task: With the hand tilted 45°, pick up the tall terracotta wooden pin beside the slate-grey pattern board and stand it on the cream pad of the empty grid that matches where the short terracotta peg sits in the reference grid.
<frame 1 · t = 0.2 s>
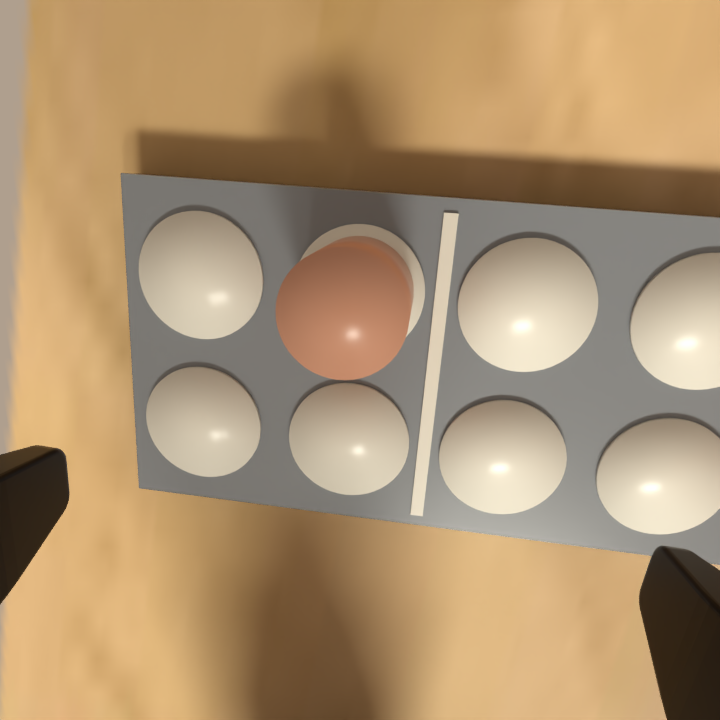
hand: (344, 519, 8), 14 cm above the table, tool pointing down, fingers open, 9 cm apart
pattern board: (432, 364, 23), on the table
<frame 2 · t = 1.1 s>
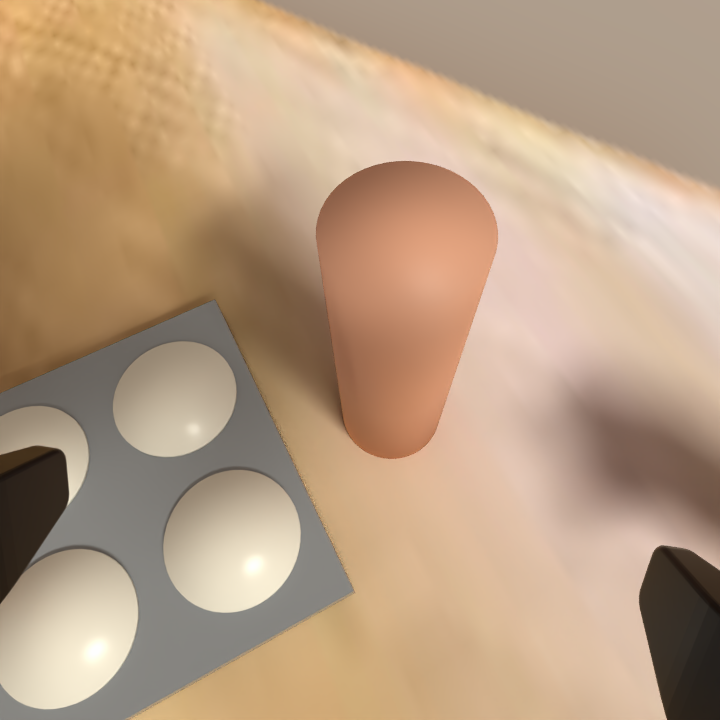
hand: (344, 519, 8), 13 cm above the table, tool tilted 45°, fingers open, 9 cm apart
terracotta pin: (390, 411, 23), on the table
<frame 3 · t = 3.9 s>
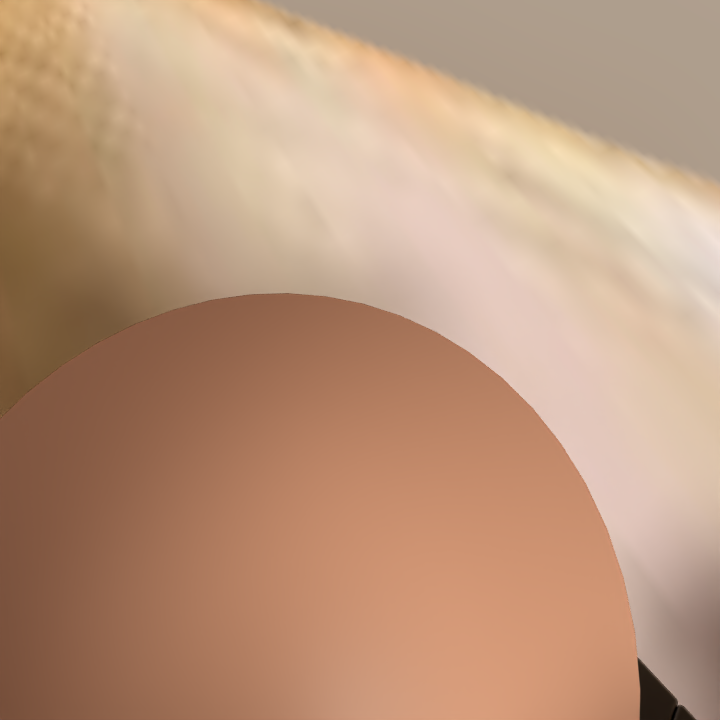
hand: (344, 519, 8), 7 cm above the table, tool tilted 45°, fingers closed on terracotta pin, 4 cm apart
terracotta pin: (347, 621, 14), on the table, touching gripper
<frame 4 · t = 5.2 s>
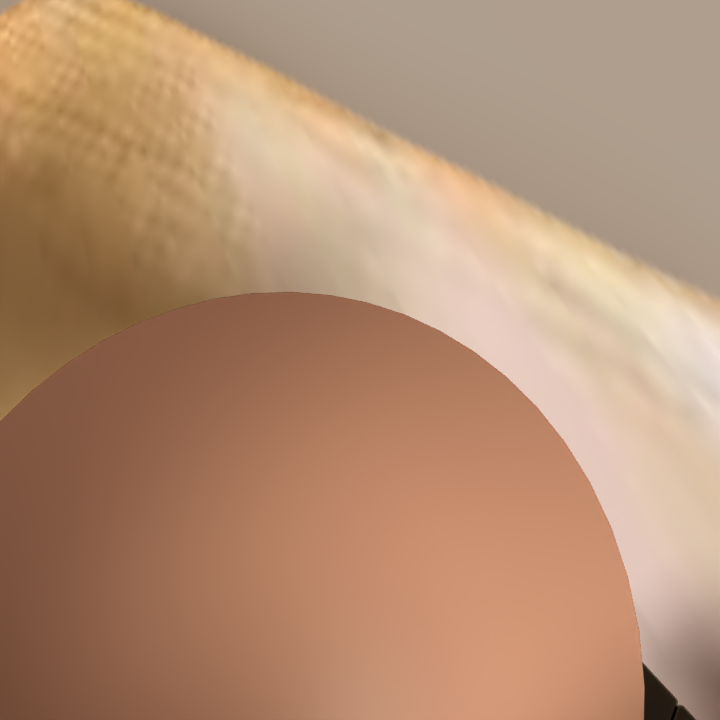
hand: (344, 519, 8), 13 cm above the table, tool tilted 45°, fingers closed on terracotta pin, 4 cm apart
terracotta pin: (348, 621, 14), point 6 cm above the table, touching gripper
when the fingers open (9 cm above the table, at t = 6.8 s): terracotta pin stays where it is, resting on pattern board.
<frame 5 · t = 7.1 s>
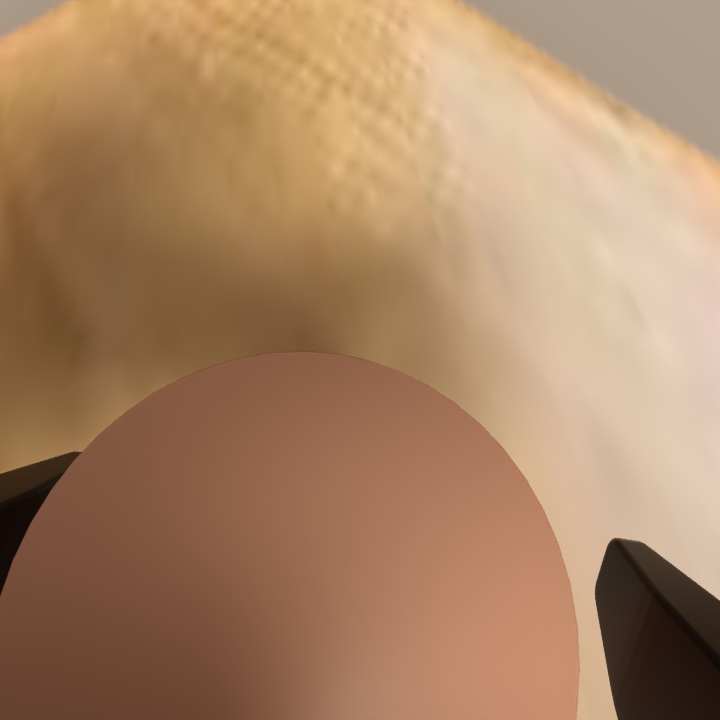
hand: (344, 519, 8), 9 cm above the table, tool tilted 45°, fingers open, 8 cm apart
terracotta pin: (347, 622, 15), point 2 cm above the table, touching pattern board
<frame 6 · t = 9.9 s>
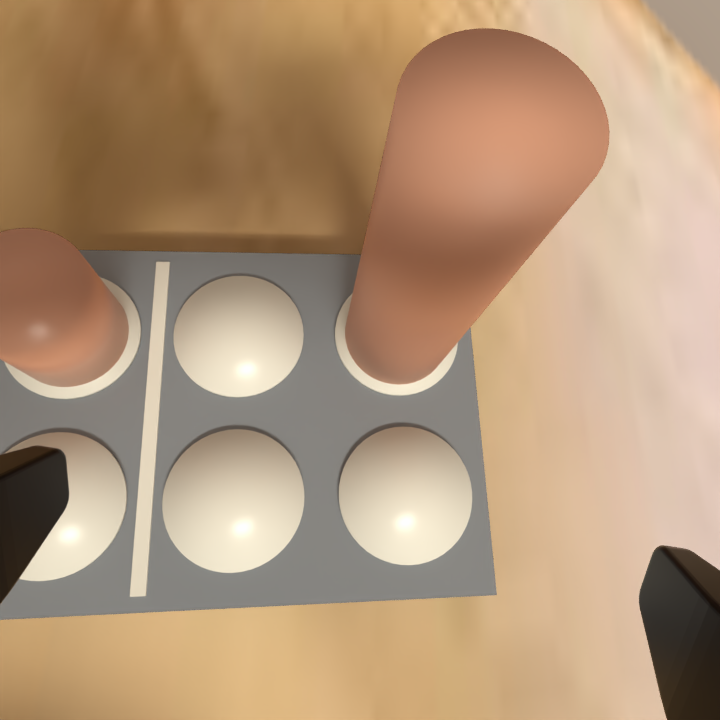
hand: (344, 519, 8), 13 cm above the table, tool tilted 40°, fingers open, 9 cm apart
pattern board: (162, 422, 21), on the table
terracotta pin: (396, 334, 22), point 2 cm above the table, touching pattern board
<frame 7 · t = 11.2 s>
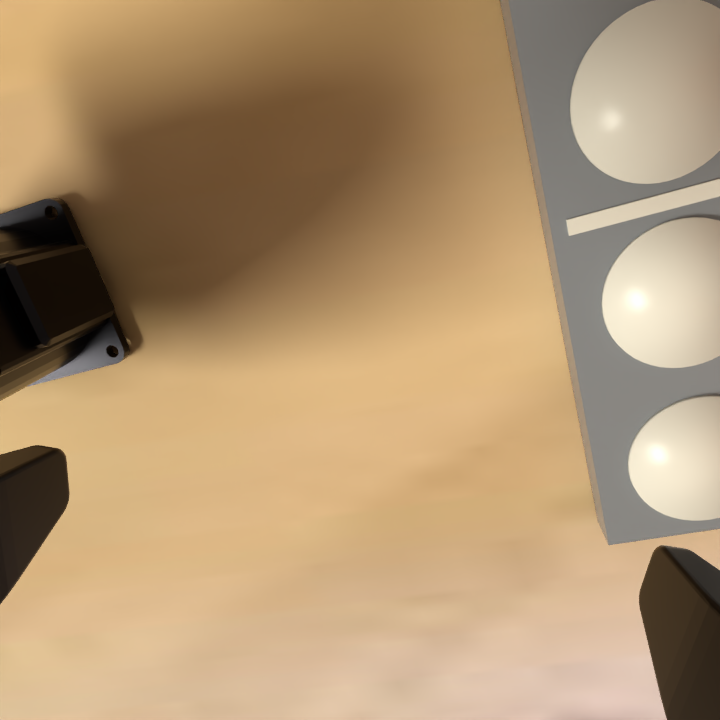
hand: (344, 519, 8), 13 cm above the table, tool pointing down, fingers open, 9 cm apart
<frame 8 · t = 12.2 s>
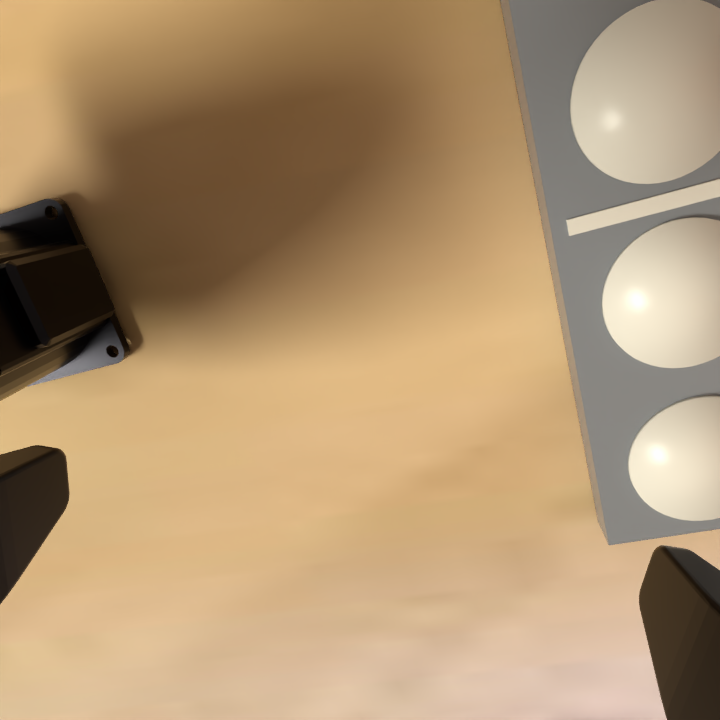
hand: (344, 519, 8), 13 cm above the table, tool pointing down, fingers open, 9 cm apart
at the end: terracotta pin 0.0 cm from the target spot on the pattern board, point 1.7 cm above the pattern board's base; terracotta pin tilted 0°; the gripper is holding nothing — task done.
